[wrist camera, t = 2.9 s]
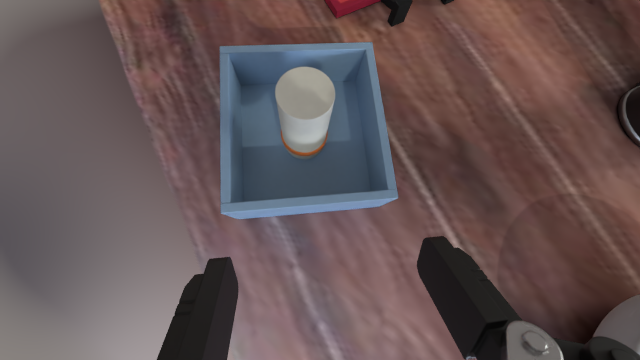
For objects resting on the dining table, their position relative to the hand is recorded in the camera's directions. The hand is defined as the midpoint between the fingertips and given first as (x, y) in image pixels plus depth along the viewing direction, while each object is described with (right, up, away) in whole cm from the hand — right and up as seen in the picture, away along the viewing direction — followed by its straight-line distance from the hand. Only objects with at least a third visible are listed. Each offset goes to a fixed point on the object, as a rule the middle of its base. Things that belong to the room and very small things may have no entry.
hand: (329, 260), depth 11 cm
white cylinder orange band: (-2, +8, +17) cm, 18 cm away
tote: (-2, +8, +17) cm, 19 cm away
